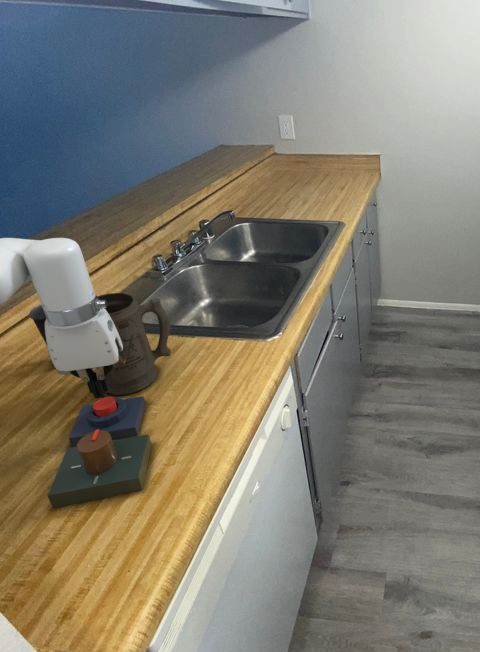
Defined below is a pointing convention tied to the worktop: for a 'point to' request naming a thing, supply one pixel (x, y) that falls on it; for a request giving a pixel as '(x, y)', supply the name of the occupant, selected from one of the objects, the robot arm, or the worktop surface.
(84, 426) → the button box
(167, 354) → the beer stein
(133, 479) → the panel
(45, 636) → the worktop surface
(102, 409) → the button
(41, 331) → the drinking cup
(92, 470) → the knob
